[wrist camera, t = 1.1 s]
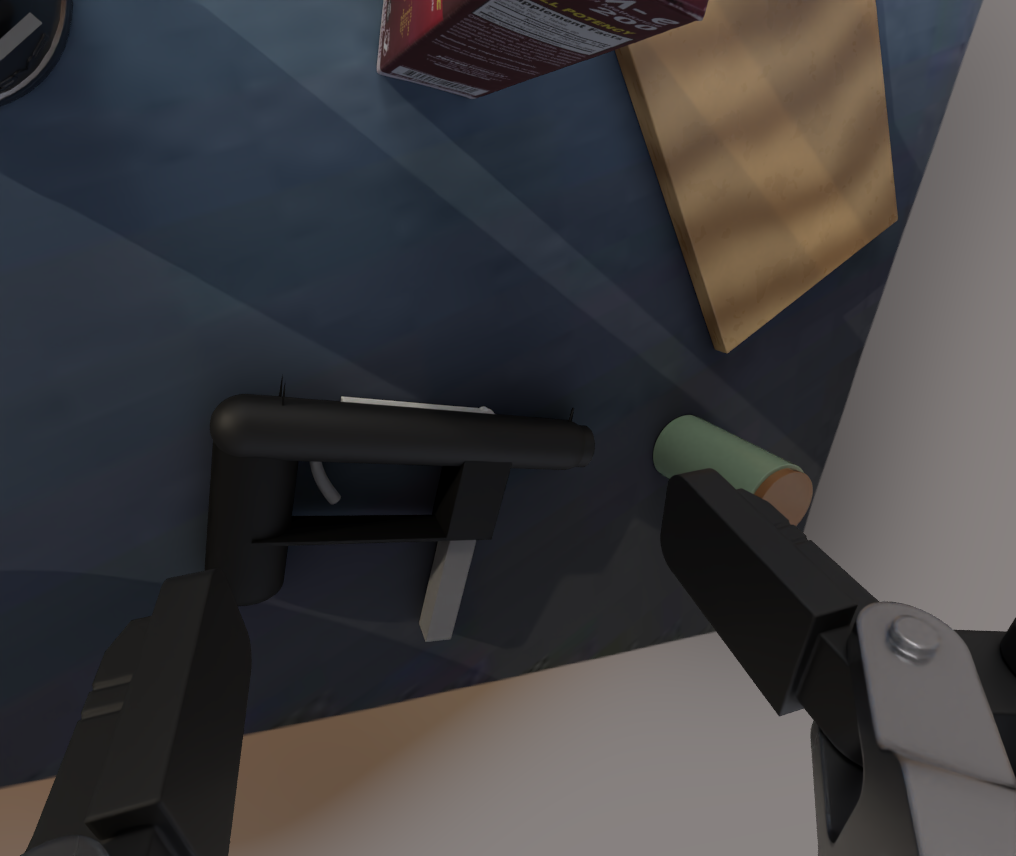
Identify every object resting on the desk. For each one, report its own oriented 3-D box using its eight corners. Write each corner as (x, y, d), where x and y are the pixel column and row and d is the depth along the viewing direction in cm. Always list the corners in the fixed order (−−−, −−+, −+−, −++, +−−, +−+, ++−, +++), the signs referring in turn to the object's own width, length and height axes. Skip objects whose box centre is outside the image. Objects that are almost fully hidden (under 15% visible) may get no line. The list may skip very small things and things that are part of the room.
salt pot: (643, 443, 38) (743, 505, 31) (696, 401, 39) (807, 452, 31) (665, 489, 41) (763, 557, 33) (714, 449, 41) (821, 507, 34)
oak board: (572, -73, 25) (586, -83, 24) (828, -232, 27) (851, -249, 26) (714, 349, 38) (727, 354, 37) (881, 218, 40) (898, 219, 39)
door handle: (536, 637, 37) (609, 416, 32) (193, 680, 28) (211, 381, 23) (516, 604, 40) (580, 395, 35) (197, 633, 31) (214, 356, 26)
